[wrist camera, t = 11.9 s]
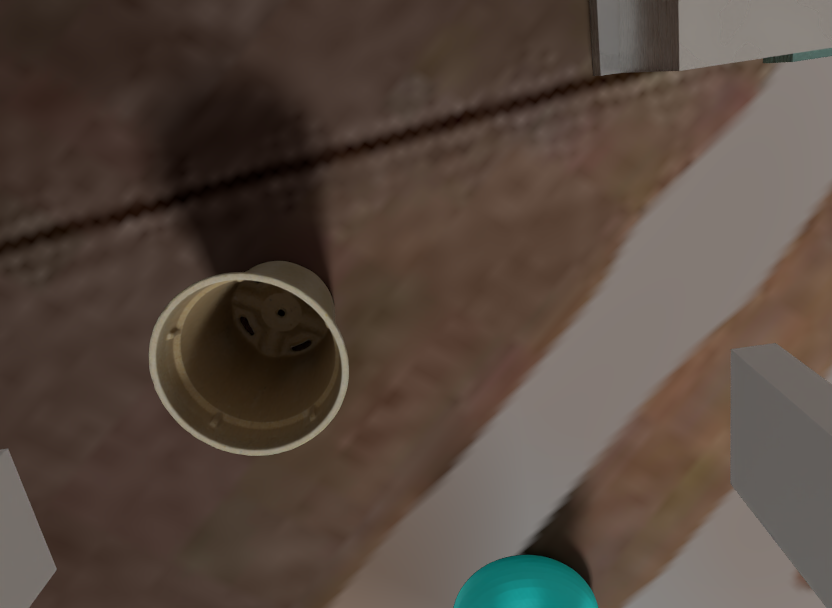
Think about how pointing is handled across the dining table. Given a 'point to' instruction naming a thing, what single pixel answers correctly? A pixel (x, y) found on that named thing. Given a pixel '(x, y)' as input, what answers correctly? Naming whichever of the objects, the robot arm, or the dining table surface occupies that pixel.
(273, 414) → the flower pot
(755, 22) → the grey u-shaped block
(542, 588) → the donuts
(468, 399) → the dining table surface
